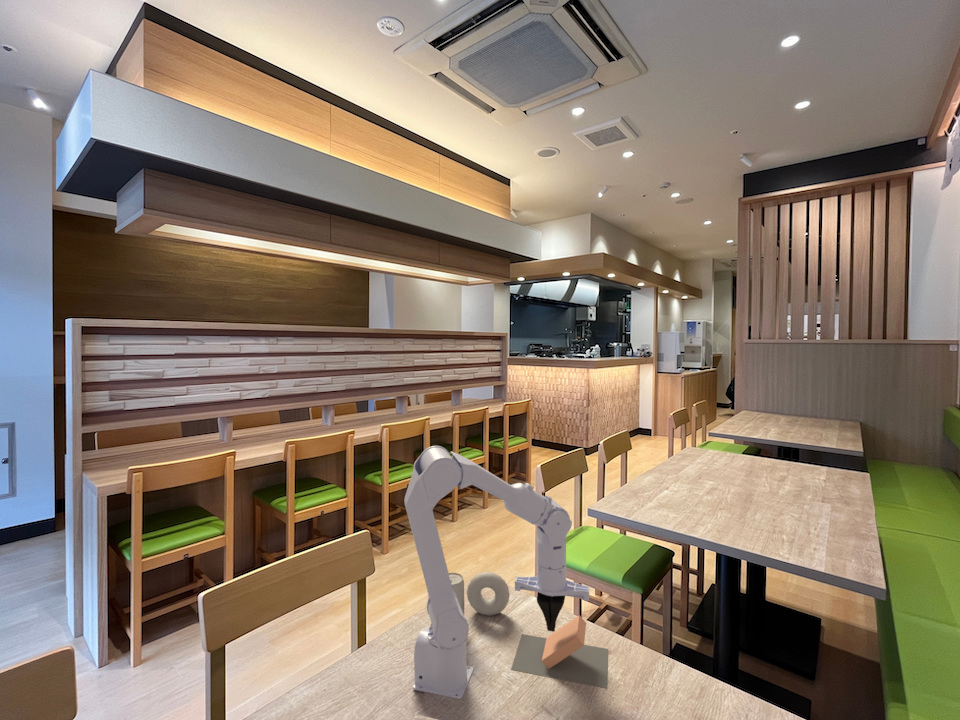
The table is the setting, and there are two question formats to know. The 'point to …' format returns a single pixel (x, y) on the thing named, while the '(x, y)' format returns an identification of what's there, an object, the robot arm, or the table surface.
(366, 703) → the table surface
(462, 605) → the energy drink
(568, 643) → the tile
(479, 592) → the donut
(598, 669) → the mat
